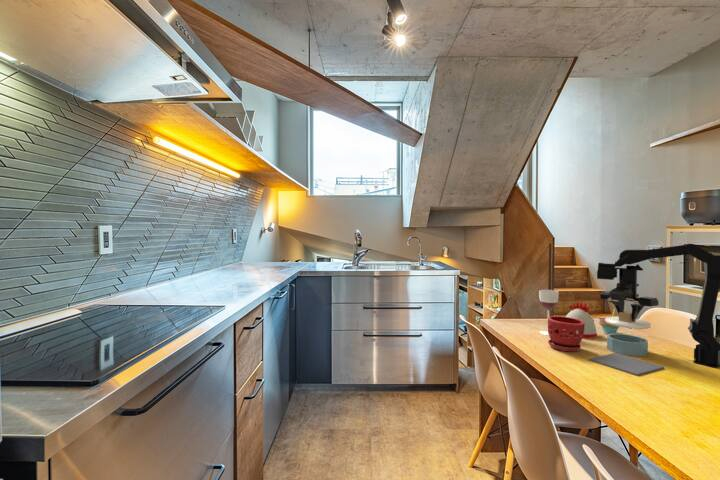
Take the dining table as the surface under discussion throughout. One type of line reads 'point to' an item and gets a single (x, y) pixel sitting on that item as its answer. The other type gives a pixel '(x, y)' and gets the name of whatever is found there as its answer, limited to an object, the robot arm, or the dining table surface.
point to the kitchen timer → (582, 315)
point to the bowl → (627, 344)
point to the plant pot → (565, 333)
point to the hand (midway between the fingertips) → (627, 319)
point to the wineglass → (548, 302)
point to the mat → (626, 364)
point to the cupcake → (608, 326)
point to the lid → (627, 321)
